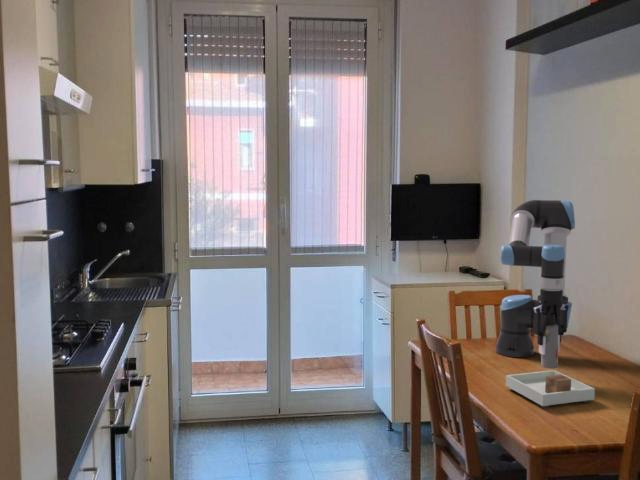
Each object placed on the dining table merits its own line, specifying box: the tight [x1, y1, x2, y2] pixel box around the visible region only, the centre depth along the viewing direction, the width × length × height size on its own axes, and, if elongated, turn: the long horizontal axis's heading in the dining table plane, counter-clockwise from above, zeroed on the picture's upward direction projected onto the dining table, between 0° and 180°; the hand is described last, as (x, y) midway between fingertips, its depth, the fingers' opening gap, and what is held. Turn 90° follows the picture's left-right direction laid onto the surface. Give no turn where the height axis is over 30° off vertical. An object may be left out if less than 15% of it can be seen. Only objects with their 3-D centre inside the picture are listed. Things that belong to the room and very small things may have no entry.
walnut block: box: [545, 374, 571, 393], centre depth 210 cm, size 6×6×6 cm
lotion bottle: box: [540, 313, 559, 369], centre depth 232 cm, size 6×6×20 cm
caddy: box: [505, 369, 596, 409], centre depth 215 cm, size 20×20×5 cm
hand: (548, 352), depth 232 cm, fingers closed on lotion bottle, 5 cm apart
